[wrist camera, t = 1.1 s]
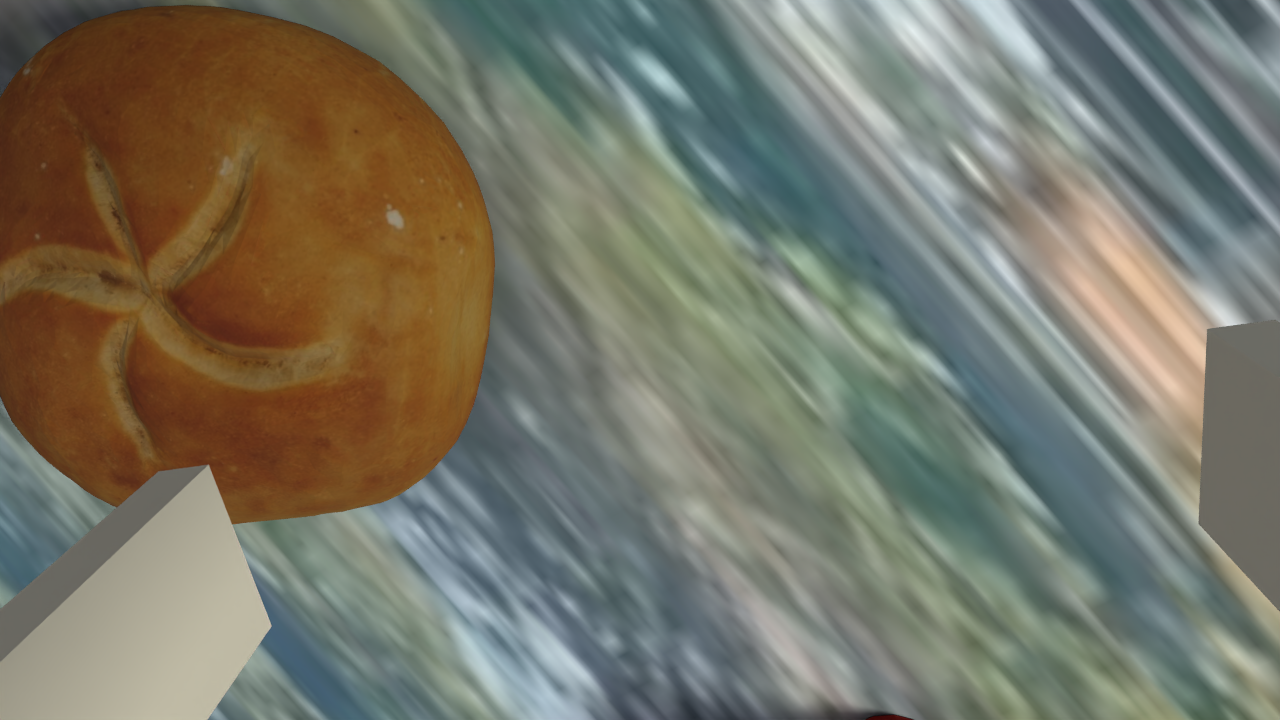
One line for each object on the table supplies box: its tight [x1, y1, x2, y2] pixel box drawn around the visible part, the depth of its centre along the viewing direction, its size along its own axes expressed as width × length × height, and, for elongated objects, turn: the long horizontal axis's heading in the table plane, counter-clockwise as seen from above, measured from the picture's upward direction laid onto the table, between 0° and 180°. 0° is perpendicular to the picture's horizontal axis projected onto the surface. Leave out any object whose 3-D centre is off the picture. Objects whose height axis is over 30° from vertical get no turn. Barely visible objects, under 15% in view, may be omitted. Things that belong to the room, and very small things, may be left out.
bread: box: [0, 5, 495, 524], centre depth 39 cm, size 23×23×10 cm
